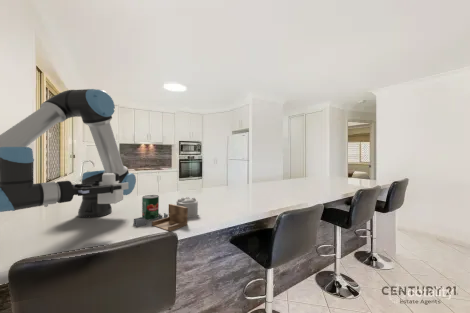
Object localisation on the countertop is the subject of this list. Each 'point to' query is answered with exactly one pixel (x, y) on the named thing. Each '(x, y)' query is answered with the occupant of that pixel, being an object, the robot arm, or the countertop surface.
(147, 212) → the canned tomato
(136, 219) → the clip
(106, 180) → the medicine bottle
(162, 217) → the clip
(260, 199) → the countertop surface
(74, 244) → the countertop surface
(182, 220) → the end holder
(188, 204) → the lumpy-topped squat cylinder
